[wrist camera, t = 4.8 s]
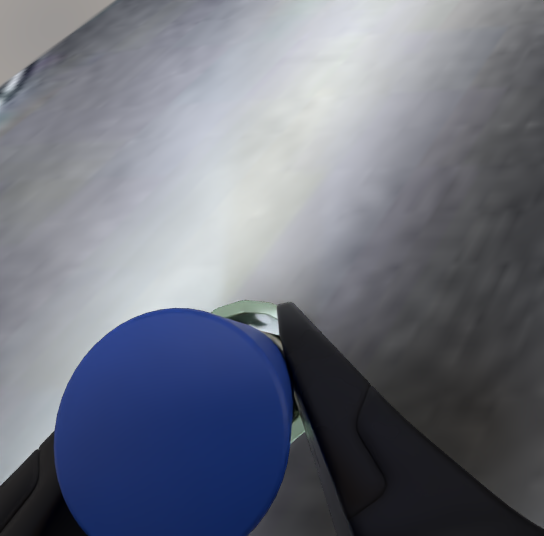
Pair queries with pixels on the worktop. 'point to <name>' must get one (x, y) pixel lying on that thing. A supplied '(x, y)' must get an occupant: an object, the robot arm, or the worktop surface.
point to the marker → (175, 427)
